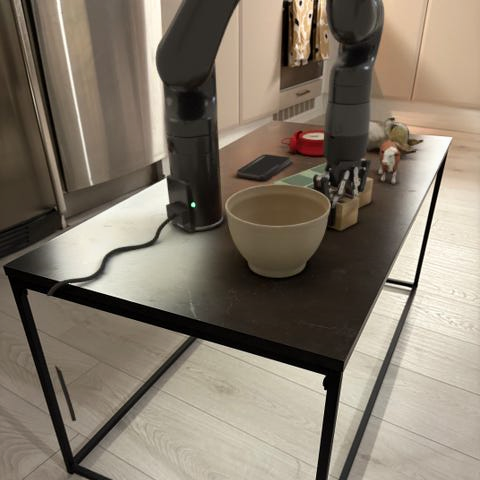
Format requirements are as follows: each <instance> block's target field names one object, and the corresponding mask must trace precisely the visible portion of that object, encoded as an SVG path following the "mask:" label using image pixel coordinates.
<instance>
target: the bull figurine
mask: <svg viewBox="0 0 480 480" xmlns="http://www.w3.org/2000/svg"><path fill="white" fill-rule="evenodd" d="M401 156H402V155H401V154H400V153H399V151H398V149H397V147H396V145H395V144H394V143H393V142H392V141H390V140H387V141H386V142H384V143H383V144H382V145H381V148H379V161H380V163H379V164H380V165H379V166H380V167H379V170H378V173H377V174H378V175H381V178H380V182H385V181H386V173H387V172H388V173H391V175H392V177H391V181H390V183H391V184H397V181H396V175H397V170H398V165H399V164H400V159H401Z"/></svg>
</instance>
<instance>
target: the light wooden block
mask: <svg viewBox="0 0 480 480" xmlns="http://www.w3.org/2000/svg"><path fill="white" fill-rule="evenodd" d="M332 197H333V194H330V200H331V201H332ZM358 207H359V198H358V197H355V196H352V195H349V194H345V193H342V195H341V196H339V198H338V201H337V204H336V217H335V225H334V226H332V227H331V226H328V225H327V226H326V227H328V228H332V229H334V230H337V231H339V232H341V231H343V230H345V229H347V228H349V227H351V226H353V225H356V224H357V223H358V216H359V208H358Z"/></svg>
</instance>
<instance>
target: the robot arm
mask: <svg viewBox="0 0 480 480" xmlns="http://www.w3.org/2000/svg"><path fill="white" fill-rule="evenodd" d="M240 2H241V0H181V2H180V5H179V6H178V8H177V10H176V12H175V14H174V16H173V18H172V20H171V21H170V24H169V25H168V27H167V29H166V31H165V32H164V35H163V36H162V38H161V39H160V40H159V42H158V44H157V47H156V51H155V58H154V59H155V67H156V71H157V74H158V77H159V78H160V80H161V82H162V86H163V97H164V117H163V119H164V129H165V137H166V146H167V154H168V164H169V173H170V174H168V175H166V186H167V196H168V201H169V202H168V204H166V205H165V210H166V217H167V218H166V219H165V220H164V221H163V222H162V223H161V224H160V225H159V226H158V228H157V229H156V232H155V235H154V237H153V238H152V239H151V240H149V241H147V242H145V243H141V244H136V245H127V246H119V247H117V248H113V249H112V250H110V251H108V252H107V253H106V254H105V255H104V257H103V259H102V260H101V264H100V267H99V268H98V270H96V271H95V272H94V273H92V274H91V275H88V276H83V277H75V278H68V279H64V280H61V281H58V282H57V283H55V284H53V286H52V287H51V288H50V289H49V290H48V292H47V293H46V296H47V297H51V296H53V295H54V293H55V292H56V291H57V290H58V289H59V288H61V287H63V286H65V285H66V286H67V285H69V283H70V284H78V283H86V282H90V281H93V280H95V279H97V278H98V277H99V276H100V275H102V273H103V272H104V270H105V268H106V265H107V263H108V261H109V259H110V258H111V257H112V256H114V255H115V254H118V253H120V252H125V251H133V250H134V251H135V250H139V249H145V248H148V247H150V246H152V245H153V244H156V242H157V241H158V240H159V238H160V236H161V233H162V230H163V229H164V228H165V227H166V226H167V225H168V224H170V222H171V225H174V226H176V227H178V228H180V229H182V230H184V231H186V232H188V233H193V232H199V231H207V230H212V229H214V228H217V227H219V226H220V225H221V224H222V223H223V221H224V214H223V199H222V198H223V197H222V182H221V181H222V180H221V179H222V178H221V162H220V160H221V159H220V143H219V142H220V140H219V124H218V123H219V121H218V120H219V119H218V93H217V71H216V70H217V68H216V67H217V66H216V59H217V55H218V53H219V50H220V47H221V44H222V41H223V39H224V36H225V33H226V31H227V28H228V26H229V23H230V21H231V19H232V17H233V15H234V12H235V11H236V9H237V7H238V5H239V4H240ZM325 10H326V21H327V26H328V29H329V32H330V34H331V35H332V38H333V39H334V40H335V41H336V42H337V43H338V47H337V55H336V59H335V60H334V62H333V64H332V65H331V67H330V72H329V78H328V91H327V104H326V108H325V115H324V130H323V131H324V143H323V155H322V156H324V158H325V159H326V163H327V164H326V167H325V172H324V173H322V174H321V175H317V174H315V175H314V177H313V183H314V188H313V189H314V190H316V191H318V192H320V193H322V194H324V195H325V196H326V197H327V198H328V199H329V201H330V204H331V207H330V213H329V215H328V221H327V225H328V226H327V227H329V226H331V227H330V228H332V226H334V225H335V217H336V204H337V201H338V198H339V196H341V195H342V192H343V190H344V193H345V194H349V195H352V196H355V197H358V193H359V192H361V193H362V192H363V191H364V188H365V184H366V180H367V177H368V176H369V172H370V168H371V164H372V163H371V161H372V160H370V159H367V158H365V157H366V156H367V150H368V149H367V142H368V133H369V124H370V121H371V111H372V110H371V102H372V101H371V100H372V91H373V82H374V70H375V64H376V60H377V57H378V54H379V49H380V45H381V41H382V37H383V36H382V35H383V32H384V31H383V30H384V24H385V5H384V2H383V0H325ZM358 178H360V179H361V181H360V185H359V180H358ZM331 187H333V188H336V189H333V188H331ZM331 194H333V197H332V201H331V200H330V195H331ZM54 368H55V371H56V374H57V375H56V376H57V378H58V381H59V384H60V386H61V390H62V393H63V395H64V398H65V402H66V405H67V408H68V412H69V415H70V419H71V421H72V422H76V421H77V417H76V414H75V410H74V406H73V404H72V400H71V397H70V394H69V390H68V388H67V385H66V382H65V379H64V376H63V375H64V374H63V372H62V370H61V369H60V368H59V367H58V366H57V365H56V364H54Z"/></svg>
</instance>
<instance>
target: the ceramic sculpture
mask: <svg viewBox="0 0 480 480" xmlns="http://www.w3.org/2000/svg"><path fill="white" fill-rule="evenodd" d="M387 140H390V141H392V142H393V143H394V144H395V145H396V147H397V149H398V151H399V153H400V154H401V155H400V156H403V155H405V156H406V155H409V154H415V153H416V152H417V150H416V149H414V148H412V147H414V146H416V145H419V144H422V143H424V139H416V138H413V137H411V136H410V129H409V127H408V126H407V125H406V124H405V123H403V122H396V118H395V117H388V118H386V119H384V120H383V121H382V122H381V123H376V122H374V121H371V120H370V124H369V133H368V142H367V150H368V151H372V150H374V149H380V148H381V145H382V144H383V143H384V142H386V141H387Z"/></svg>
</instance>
